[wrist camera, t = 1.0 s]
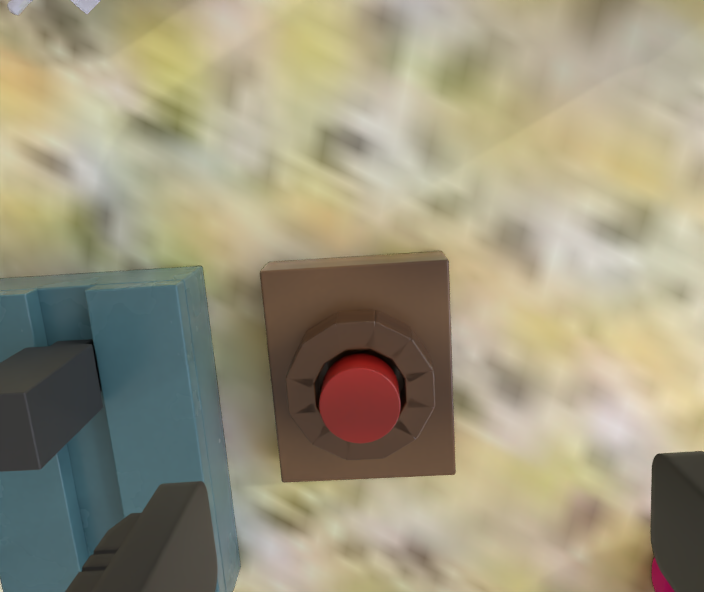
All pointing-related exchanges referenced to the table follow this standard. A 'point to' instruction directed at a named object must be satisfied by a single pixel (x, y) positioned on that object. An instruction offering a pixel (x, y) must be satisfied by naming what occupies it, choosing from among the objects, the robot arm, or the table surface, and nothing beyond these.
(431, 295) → the panel
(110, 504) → the control base
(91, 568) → the robot arm
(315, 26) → the table surface
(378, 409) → the button
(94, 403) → the slider
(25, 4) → the charger
